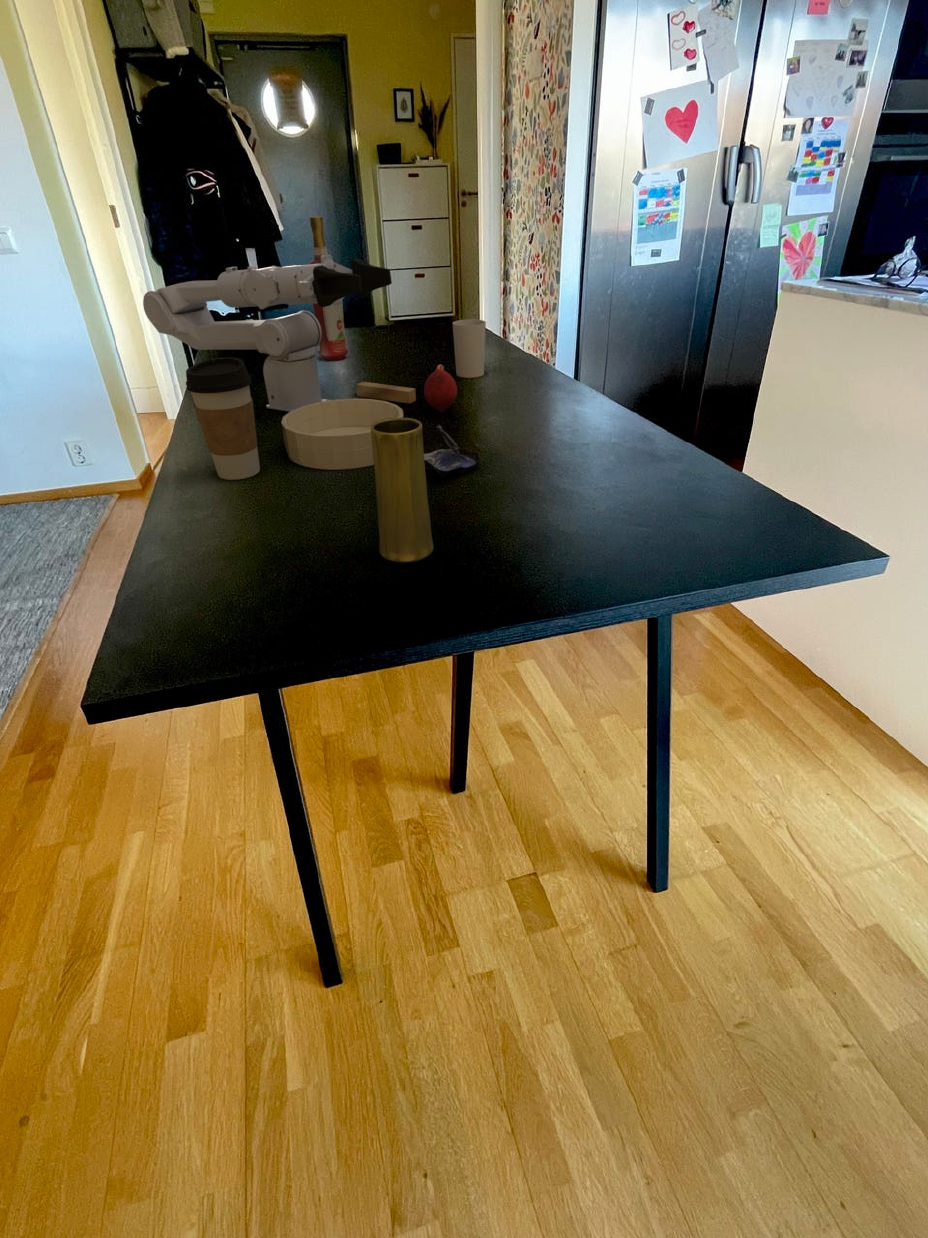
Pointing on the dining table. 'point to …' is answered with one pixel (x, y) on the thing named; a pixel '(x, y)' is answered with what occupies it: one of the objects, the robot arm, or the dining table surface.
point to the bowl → (335, 432)
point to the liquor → (329, 315)
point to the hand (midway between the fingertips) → (375, 279)
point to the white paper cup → (469, 347)
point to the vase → (401, 490)
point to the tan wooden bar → (386, 392)
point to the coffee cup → (226, 415)
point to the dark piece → (450, 457)
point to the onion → (440, 389)
